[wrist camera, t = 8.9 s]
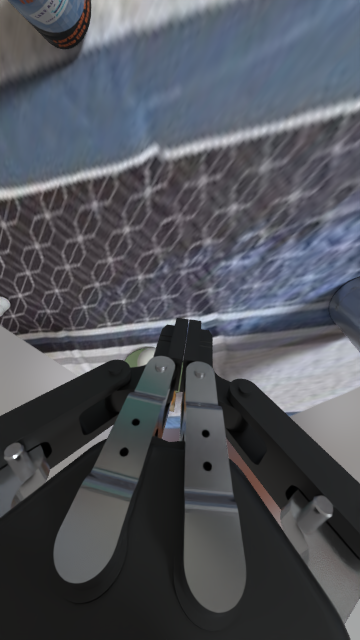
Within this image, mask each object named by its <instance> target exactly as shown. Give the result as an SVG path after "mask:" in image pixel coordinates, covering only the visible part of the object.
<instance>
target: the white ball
mask: <svg viewBox="0 0 360 640" xmlns="http://www.w3.org/2000/svg"><path fill="white" fill-rule="evenodd" d="M155 350H156V348H147V349H145V350H144V351H142V352H141V353H140V355H139V357H138V360H137V366H138V367H139V366H143V365H146V364H147V363H148V361H149V360H150V359H151V358H153V356H154V353H155Z"/></svg>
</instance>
